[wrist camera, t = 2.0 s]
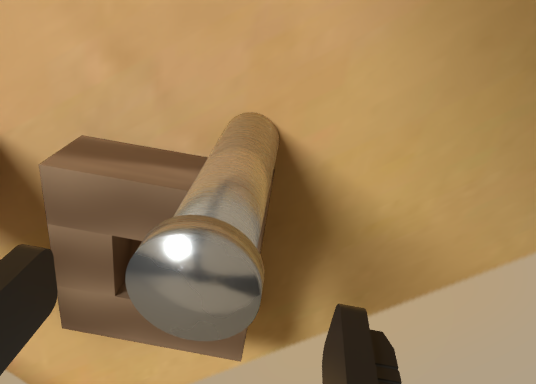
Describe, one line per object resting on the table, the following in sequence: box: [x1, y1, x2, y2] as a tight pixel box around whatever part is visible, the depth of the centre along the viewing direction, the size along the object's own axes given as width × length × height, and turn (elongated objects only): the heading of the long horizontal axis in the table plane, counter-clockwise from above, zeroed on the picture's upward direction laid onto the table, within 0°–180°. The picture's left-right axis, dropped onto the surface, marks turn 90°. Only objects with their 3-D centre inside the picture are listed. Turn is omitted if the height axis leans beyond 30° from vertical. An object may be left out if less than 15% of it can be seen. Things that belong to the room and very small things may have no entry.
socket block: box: [39, 136, 275, 361], centre depth 23 cm, size 11×11×4 cm
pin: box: [125, 113, 279, 341], centre depth 16 cm, size 4×4×12 cm
